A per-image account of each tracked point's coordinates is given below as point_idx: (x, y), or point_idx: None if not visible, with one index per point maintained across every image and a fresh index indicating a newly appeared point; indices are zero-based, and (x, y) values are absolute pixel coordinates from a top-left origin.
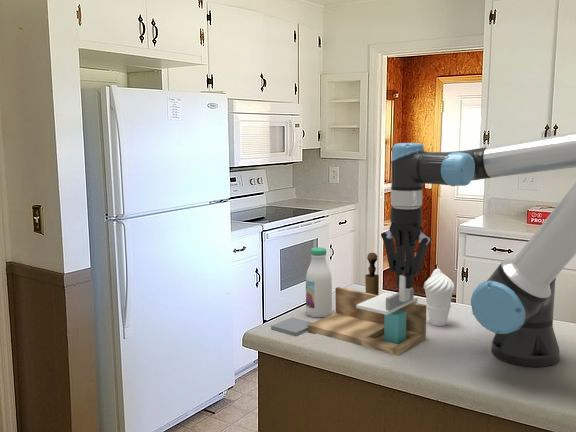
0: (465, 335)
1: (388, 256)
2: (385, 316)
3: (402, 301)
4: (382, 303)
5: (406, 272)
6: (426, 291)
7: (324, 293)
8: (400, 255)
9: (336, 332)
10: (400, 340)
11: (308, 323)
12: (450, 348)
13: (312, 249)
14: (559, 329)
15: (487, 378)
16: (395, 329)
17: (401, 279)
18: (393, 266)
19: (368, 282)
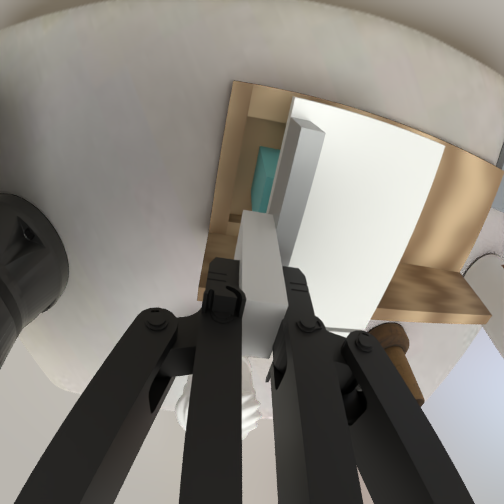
0: (143, 300)
1: (418, 423)
2: None
3: (253, 211)
4: (351, 207)
5: (228, 325)
6: (247, 391)
7: (502, 299)
8: (304, 461)
9: (443, 141)
10: (257, 163)
11: (501, 199)
12: (134, 211)
13: None
14: (51, 368)
15: (15, 94)
16: (273, 162)
17: (269, 285)
18: (354, 361)
19: (413, 386)
